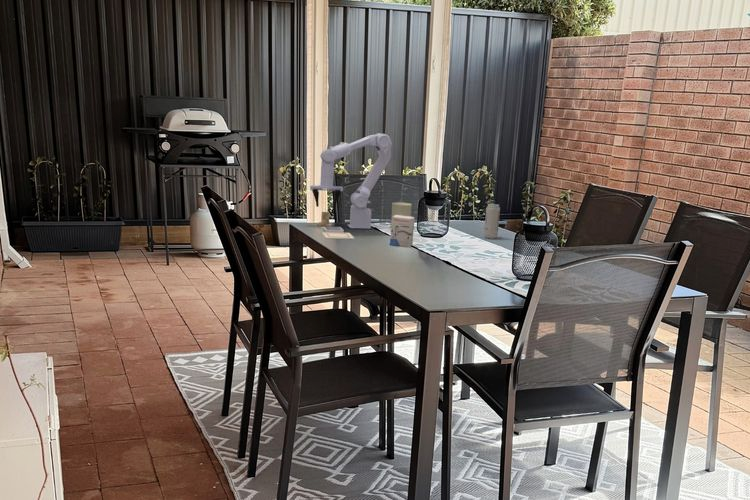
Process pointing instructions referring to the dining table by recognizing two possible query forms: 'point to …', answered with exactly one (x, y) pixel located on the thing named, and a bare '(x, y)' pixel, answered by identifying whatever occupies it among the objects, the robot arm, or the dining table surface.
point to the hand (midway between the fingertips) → (325, 206)
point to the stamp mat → (337, 235)
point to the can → (401, 209)
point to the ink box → (402, 231)
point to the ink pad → (333, 229)
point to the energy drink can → (492, 221)
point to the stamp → (325, 220)
